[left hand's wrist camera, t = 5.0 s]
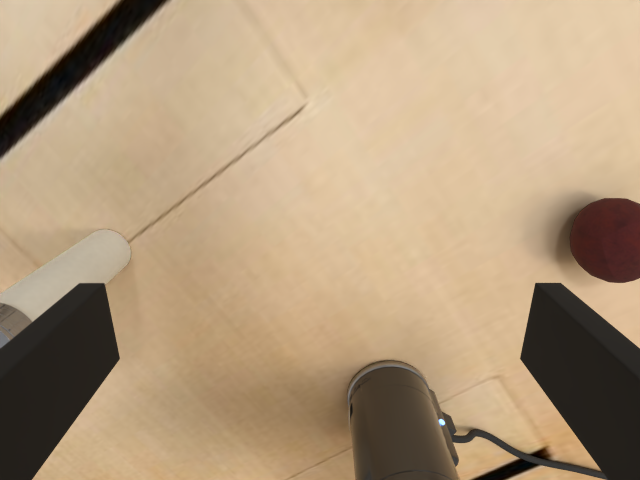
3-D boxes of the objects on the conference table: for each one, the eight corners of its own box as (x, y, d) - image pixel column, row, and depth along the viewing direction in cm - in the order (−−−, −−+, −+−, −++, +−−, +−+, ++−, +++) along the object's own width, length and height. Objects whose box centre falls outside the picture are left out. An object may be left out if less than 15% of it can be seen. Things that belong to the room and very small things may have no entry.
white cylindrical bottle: (76, 242, 42) (-71, 339, 26) (111, 221, 41) (-20, 307, 25) (106, 277, 43) (-17, 389, 28) (140, 257, 43) (34, 360, 27)
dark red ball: (571, 274, 43) (617, 309, 36) (541, 215, 41) (584, 240, 34) (641, 237, 42) (702, 266, 35) (614, 173, 39) (674, 192, 33)
